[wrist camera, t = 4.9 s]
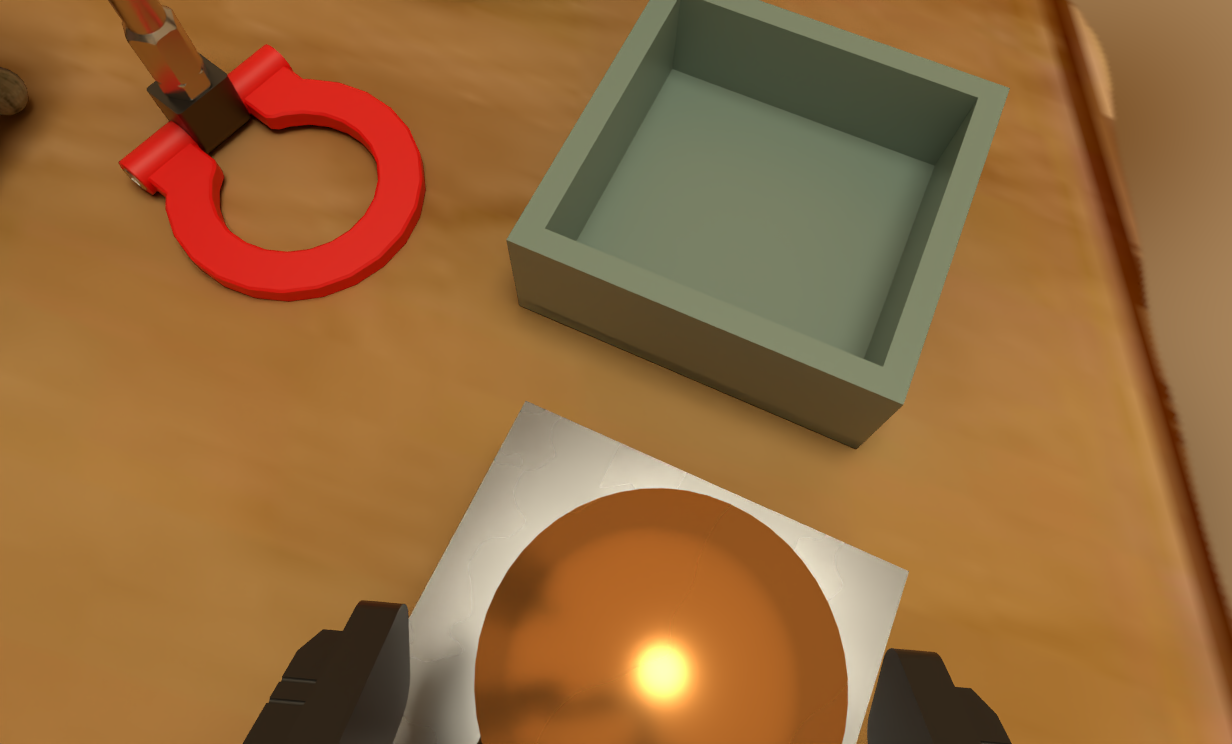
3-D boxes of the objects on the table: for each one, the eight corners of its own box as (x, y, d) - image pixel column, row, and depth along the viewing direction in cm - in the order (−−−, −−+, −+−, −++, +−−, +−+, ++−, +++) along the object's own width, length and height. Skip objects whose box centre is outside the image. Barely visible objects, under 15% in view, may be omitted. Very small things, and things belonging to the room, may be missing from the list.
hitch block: (722, 982, 19) (757, 1063, 15) (363, 789, 20) (304, 814, 16) (851, 593, 23) (908, 571, 18) (537, 452, 24) (525, 400, 20)
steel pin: (653, 785, 21) (772, 970, 7) (530, 723, 21) (404, 773, 7) (705, 652, 22) (894, 577, 8) (588, 596, 22) (574, 434, 8)
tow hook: (476, 185, 28) (290, 50, 30) (407, -175, 16) (100, -370, 18) (304, 355, 26) (110, 197, 27) (67, 78, 13) (-257, -177, 15)
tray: (856, 449, 24) (903, 404, 20) (519, 305, 26) (506, 239, 22) (955, 167, 28) (1009, 88, 25) (659, 58, 30) (668, -32, 26)
